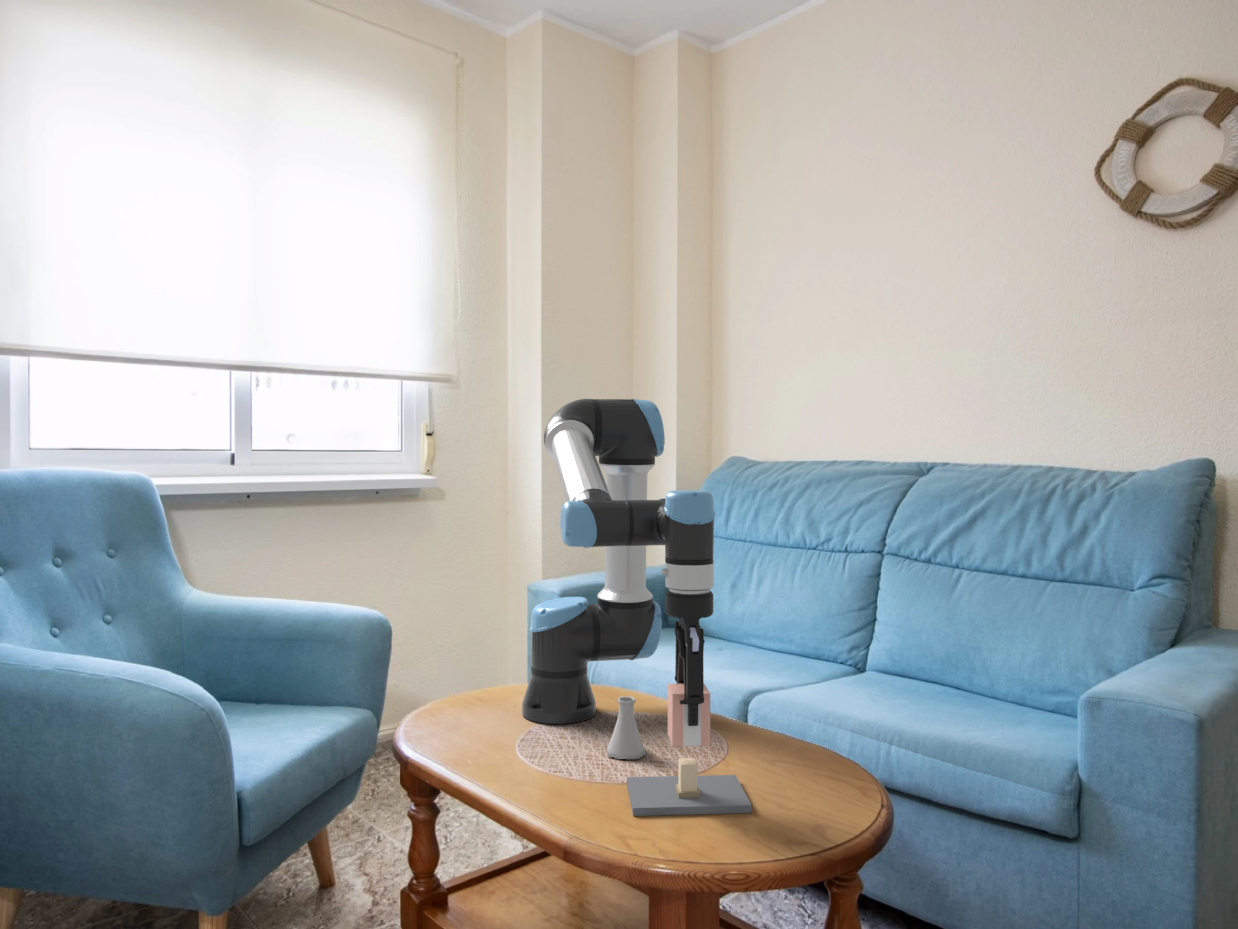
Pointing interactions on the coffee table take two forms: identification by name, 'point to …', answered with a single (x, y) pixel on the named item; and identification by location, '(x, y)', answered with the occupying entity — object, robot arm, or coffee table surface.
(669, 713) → the pink upright block
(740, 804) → the post board
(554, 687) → the robot arm
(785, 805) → the coffee table surface
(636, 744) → the flask
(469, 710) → the coffee table surface
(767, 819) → the coffee table surface
